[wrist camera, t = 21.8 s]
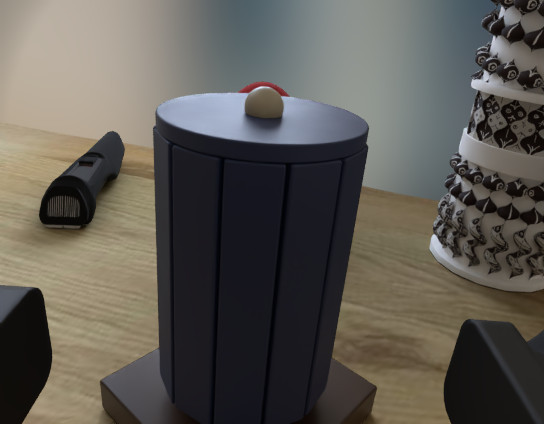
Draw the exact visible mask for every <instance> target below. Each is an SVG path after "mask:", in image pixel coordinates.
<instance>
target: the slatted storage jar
mask: <svg viewBox="0 0 544 424" xmlns="http://www.w3.org/2000/svg"><path fill="white" fill-rule="evenodd" d="M368 131H369V127H368V124H367V123H366V121H364V120H363V119H362V118H361V117H359V116H357V115H355V114H354V113H351V112H349V111H347V110H344V109H341V108H338V107H335V106H331V105H328V104H324V103H319V102H315V101H310V100H305V99H299V98H292V97H285V96H280V94H279V93H278V92H277V91H276V90H274V89H273V88H270V87H258V88H256V89H254V90H252V91H251V92H250V93H209V94H198V95H189V96H183V97H179V98H175V99H171V100H169V101H166V102H164V103H162V104H160V105H159V106H158V107H157V109H156V125H155V126H154V128H153V136H154V137H153V138H154V140H153V141H154V176H155V212H156V248H157V283H158V319H159V355H160V376H161V378H162V381H163V383H164V386H165V388H166V391H167V393H168V396H169V398H170V401H171V403H172V404H174V403H175V406H176V408H178V409H179V410H181V411H182V412H184V413H185V414H187V415H189V416H190V417H192V418H193V419H195V420H196V421H198V422H200V423H201V424H290V423H292V422H295V421H298V420H300V419H302V418H303V415H304V414H305V415H307V414H308V413H309V412H310V410H311V409H312V407H313V406H314V405H315V403H316V402H317V400H318V399H319V398H320V396H321V395H322V393H323V392H324V390H325V389H326V384H327V380H328V375H329V369H330V363H331V358H332V352H333V346H334V341H335V335H336V329H337V324H338V318H339V312H340V306H341V301H342V295H343V289H344V284H345V278H346V272H347V267H348V261H349V255H350V249H351V244H352V238H353V232H354V227H355V221H356V215H357V210H358V204H359V198H360V192H361V187H362V180H363V175H364V169H365V164H366V158H367V152H368V146H367V144H366V142H367V137H368Z"/></svg>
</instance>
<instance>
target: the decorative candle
mask: <svg viewBox="0 0 544 424" xmlns="http://www.w3.org/2000/svg"><path fill="white" fill-rule="evenodd" d="M491 1H492V2H493V3H495V4H496V6H497V5H498V4H500V5H502V7H501V10H499V11H497V9H495V10H494V11H492V12H490V13H488V14H486V15H485V16H484V18H483V20H482V27H483V28H485V29H486V30H487V31H489V33H492V34H493V35H494V37H493V41H492V44H490V45H489V43H488V44H487V45H486V46H484V47H481V48H479V49H478V50H477V51H476V58H475V61H476V63H477V64H478V65H479V66H481V67H482V68H483V69H482V70H481V71H479V72H476V73H474V74H473V75H472V76H474V78H473V80H472V83H471V86H472V88H475V89H477V94H476V98H475V102H474V104H473V108H472V112H471V117H470V121H469V124H468V127H467V128H464V131H463V135H462V139H461V142H460V146H459V152H457V153H455V154H454V155H453V156H452V159H451V160H450V165H451V167H452V168H454V171H455V173H451V174H450V175H448V176H447V180H446V181H445V187H446V188H448V191H449V194H446V195H445V196H444V197H443V198H442V199H441V201H440V203H439V205H438V213H439V216H438V217H437V218H436V220H435V222H434V224H433V232H434V235H433V236H432V238H431V243H430V251H431V252H432V254H433V255H434V257H435V258H436V260H437V261H438V262H440V263H441V264H442V265H444V266H445V267H446V268H448V269H449V270H451V271H452V272H453V273H455V274H457V275H460V276H462V277H464V278H466V279H469V280H471V281H473V282H475V283H478V284H481V285H485V286H489V287H493V288H497V289H501V290H504V291H518V292H534V291H538V290H542V289H544V0H491ZM472 76H471V77H472Z"/></svg>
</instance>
